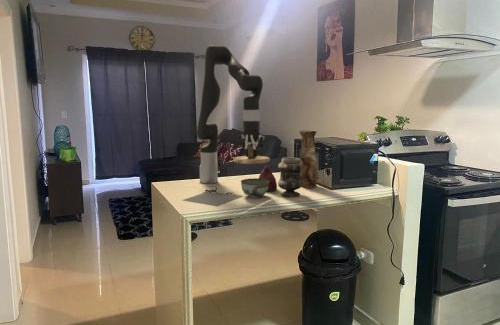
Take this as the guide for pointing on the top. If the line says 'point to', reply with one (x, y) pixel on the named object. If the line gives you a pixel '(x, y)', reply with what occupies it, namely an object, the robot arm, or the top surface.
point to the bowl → (255, 187)
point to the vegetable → (269, 178)
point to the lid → (251, 158)
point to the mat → (212, 198)
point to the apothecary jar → (290, 176)
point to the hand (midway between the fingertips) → (251, 157)
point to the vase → (308, 159)
